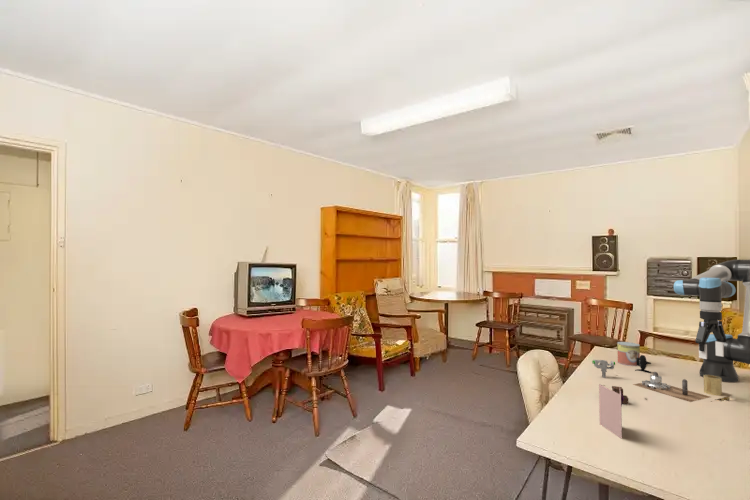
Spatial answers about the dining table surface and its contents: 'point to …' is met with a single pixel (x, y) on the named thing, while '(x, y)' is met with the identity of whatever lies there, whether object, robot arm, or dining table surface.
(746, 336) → the robot arm
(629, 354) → the canned food
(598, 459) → the dining table surface
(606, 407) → the greeting card
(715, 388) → the brass gear
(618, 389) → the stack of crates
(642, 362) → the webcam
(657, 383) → the steel gear
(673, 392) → the gear board
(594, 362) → the mechanical component
